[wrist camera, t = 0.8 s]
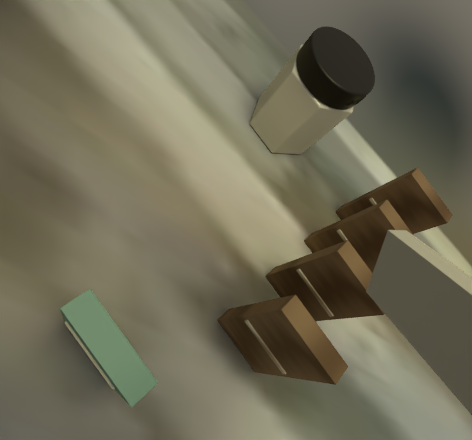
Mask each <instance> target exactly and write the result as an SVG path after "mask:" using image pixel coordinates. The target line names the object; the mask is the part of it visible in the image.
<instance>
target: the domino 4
mask: <svg viewBox="0 0 472 440" xmlns="http://www.w3.org/2000/svg"><path fill="white" fill-rule="evenodd" d="M384 200H388V201H389V202H390V204H391V205H392V206H393V208H394V209H395V211H396V212H397V213H398V215H399V216H400V217H401V219H402V220H403V221H404V223H405V224H406V226H407V227H408V228H409V230H410V231H411V232H412V234H414V233H418V232H421V231H424V230H427V229H430V228H433V227H436V226H439V225H442V224H446V223H448V221H449V220H450V218H451V217H452V213H451V212H450V211H449V209H447V207H446V205H445V204H444V203H443V201H442V200H441V199H440V197H439V196H438V195H437V193H436V192H435V190H434V189H433V188H432V186H431V185H430V184H429V182H428V181H427V180H426V178H425V177H424V175H423V174H422V173H421V171H420V170H419V169H418V168H416V169H414V170H412V171H410V172H408V173H406V174H404V175H402V176H400V177H398V178H396V179H394V180H392V181H390V182H388V183H386V184H384V185H382V186H380V187H378V188H376V189H374V190H372V191H370V192H368V193H366V194H364V195H362V196H360V197H359V198H357V199H355V200H353V201H351V202H349V203H347V204H345V205H343V206H341V207H340V208H339V209H338V210H337V211H336V213H337V214H338V216H339V217H340V219H341V220H343V219H345V218H347V217H349V216H352V215H354V214H356V213H358V212H360V211H362V210H365V209H367V208H369V207H371V206H373V205H376V204H378V203H380V202H382V201H384Z"/></svg>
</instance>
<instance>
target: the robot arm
mask: <svg viewBox="0 0 472 440" xmlns="http://www.w3.org/2000/svg"><path fill="white" fill-rule="evenodd" d="M366 292H367V293H368V295H369V296H370V297H371V298H372V299H373V300H374V302H375V303H376V304H377V305H378V306H379V307H380V309H381V310H382V311H383V312H384V313H385V314H386V316H387V317H388V318H389V319H390V320H391V321H392V323H393V324H394V325H395V326H396V327H397V328H398V330H399V331H400V332H401V333H402V334H403V335H404V337H405V338H406V339H407V340H408V341H409V342H410V344H411V345H412V346H413V347H414V348H415V349H416V351H417V352H418V353H419V354H420V355H421V356H422V358H423V359H424V360H425V361H426V362H427V363H428V365H429V366H430V367H431V368H432V369H433V370H434V372H435V373H436V374H437V375H438V376H439V377H440V379H441V380H442V381H443V382H444V383H445V384H446V386H447V387H448V388H449V389H450V390H451V392H452V393H453V394H454V395H455V396H456V397H457V399H458V400H459V401H460V402H461V403H462V404H463V406H464V407H465V408H466V409H467V410H468V411H469V413H470V414H471V415H472V277H471V276H469V275H468V274H466V273H465V272H464V271H462V270H461V269H459V268H458V267H457V266H455V265H454V264H453V263H451V262H450V261H448V260H447V259H446V258H444V257H443V256H441V255H440V254H439V253H437V252H436V251H434V250H433V249H432V248H430V247H429V246H427V245H426V244H425V243H423V242H422V241H421V240H419V239H418V238H416V237H415V236H414V235H412V234H411V233H409V232H408V231H407V230H388V231H387V234H386V237H385V240H384V243H383V245H382V248H381V251H380V254H379V257H378V259H377V262H376V265H375V268H374V271H373V274H372V276H371V279H370V282H369V285H368V288H367V291H366Z"/></svg>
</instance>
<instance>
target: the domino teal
mask: <svg viewBox="0 0 472 440" xmlns="http://www.w3.org/2000/svg"><path fill="white" fill-rule="evenodd" d="M60 310H61V313H62V316H63V319H64V323H65V325H66V326H67V327H68V329H69V330H70V332H71V333H72V334H73V336H74V337H75V339H76V340H77V341H78V343H79V344H80V346H81V347H82V348H83V350H84V351H85V352H86V354H87V355H88V357H89V358H90V359H91V361H92V362H93V364H94V365H95V366H96V368H97V369H98V370H99V372H100V373H101V375H102V376H103V377H104V379H105V380H106V382H107V383H108V384H109V386H110V387H111V389H112V390H114V389H115V390H116V391H117V393H118V394H119V395H120V396H121V397H122V398H123V399H124V400H125V401H126V402H127V403H128V404H129V405H130V406H131V407H133V406H134V405H135V404H136V403H137V402H138V401H139V400H140V399H141V398H143V397H144V396H145V395H146V394H147V393H148V392H149V391H150V390H151V389H152V388H153V387H154V386H155V385H156V384H158V382H157V380H156V379H155V378H154V376H153V375H152V373H151V372H150V371H149V369H148V368H147V366H146V365H145V364H144V362H143V361H142V360H141V358H140V357H139V355H138V354H137V353H136V351H135V350H134V348H133V347H132V346H131V344H130V343H129V342H128V340H127V339H126V337H125V336H124V335H123V333H122V332H121V330H120V329H119V328H118V326H117V325H116V324H115V322H114V321H113V319H112V318H111V317H110V315H109V314H108V312H107V311H106V310H105V308H104V307H103V306H102V304H101V303H100V301H99V300H98V299H97V297H96V296H95V294H94V293H93V292H92V290H91V289H89V290H87V291H86V292H84V293H83V294H81V295H80V296H78V297H77V298H75V299H73V300H72V301H70V302H69V303H67V304H66V305H64V306H63V307H61V308H60Z"/></svg>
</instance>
